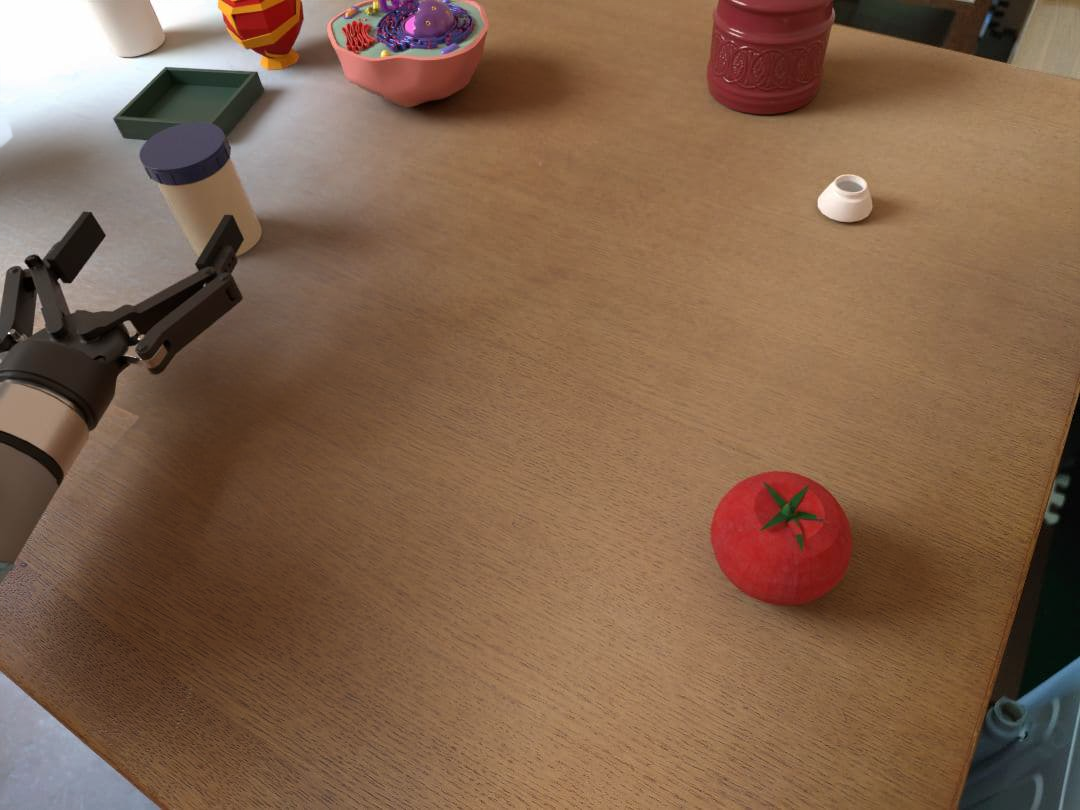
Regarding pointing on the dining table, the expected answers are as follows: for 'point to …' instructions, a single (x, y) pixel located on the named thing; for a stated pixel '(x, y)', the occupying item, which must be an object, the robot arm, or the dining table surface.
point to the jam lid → (185, 153)
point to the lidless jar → (846, 199)
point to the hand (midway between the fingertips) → (164, 225)
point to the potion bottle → (265, 28)
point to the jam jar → (213, 208)
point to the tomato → (781, 538)
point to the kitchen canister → (768, 53)
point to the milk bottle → (127, 25)
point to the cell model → (410, 47)
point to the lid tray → (189, 101)
